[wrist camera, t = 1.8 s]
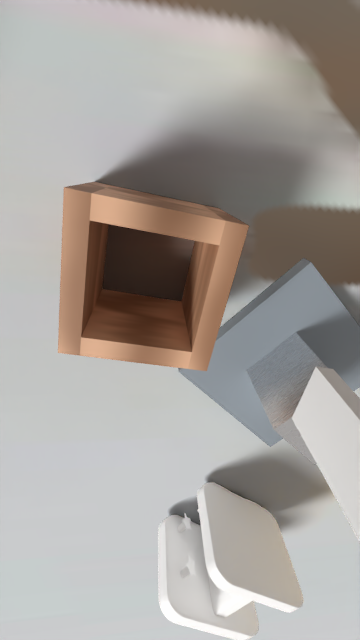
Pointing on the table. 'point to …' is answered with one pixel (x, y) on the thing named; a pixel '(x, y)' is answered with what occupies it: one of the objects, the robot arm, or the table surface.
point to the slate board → (270, 331)
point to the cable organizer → (224, 566)
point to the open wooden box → (138, 310)
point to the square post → (285, 386)
